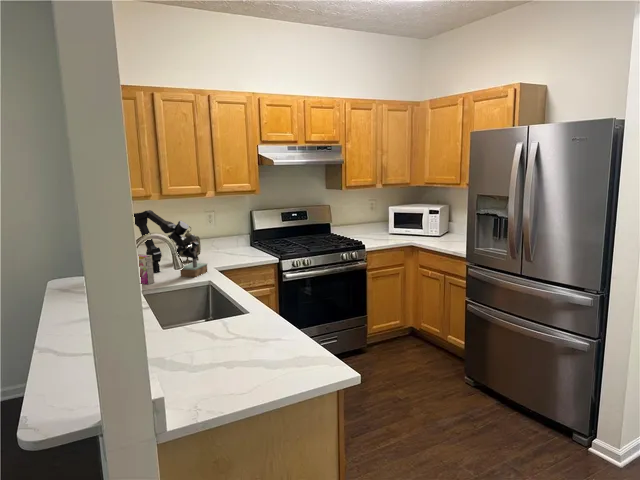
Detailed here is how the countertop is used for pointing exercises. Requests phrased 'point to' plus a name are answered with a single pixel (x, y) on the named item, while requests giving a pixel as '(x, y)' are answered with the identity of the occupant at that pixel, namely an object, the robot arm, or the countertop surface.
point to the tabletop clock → (190, 244)
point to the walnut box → (193, 272)
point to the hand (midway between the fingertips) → (196, 258)
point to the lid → (194, 264)
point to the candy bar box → (146, 269)
